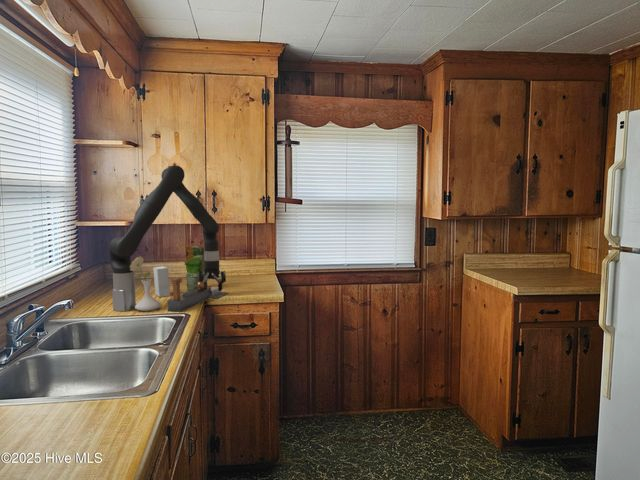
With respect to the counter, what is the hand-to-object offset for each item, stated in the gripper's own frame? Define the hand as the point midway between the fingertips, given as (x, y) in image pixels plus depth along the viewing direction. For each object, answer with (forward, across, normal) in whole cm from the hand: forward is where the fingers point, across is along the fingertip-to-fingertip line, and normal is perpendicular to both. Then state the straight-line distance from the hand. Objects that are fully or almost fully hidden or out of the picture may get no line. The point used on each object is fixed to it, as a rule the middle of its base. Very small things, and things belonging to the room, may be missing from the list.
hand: (212, 290), depth 247 cm
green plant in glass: (+3, -16, +11) cm, 20 cm away
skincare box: (+3, -26, -6) cm, 27 cm away
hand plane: (+3, -1, -21) cm, 21 cm away
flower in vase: (+3, -15, -34) cm, 38 cm away
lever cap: (+2, 0, 0) cm, 2 cm away
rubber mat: (+3, 0, 0) cm, 3 cm away
